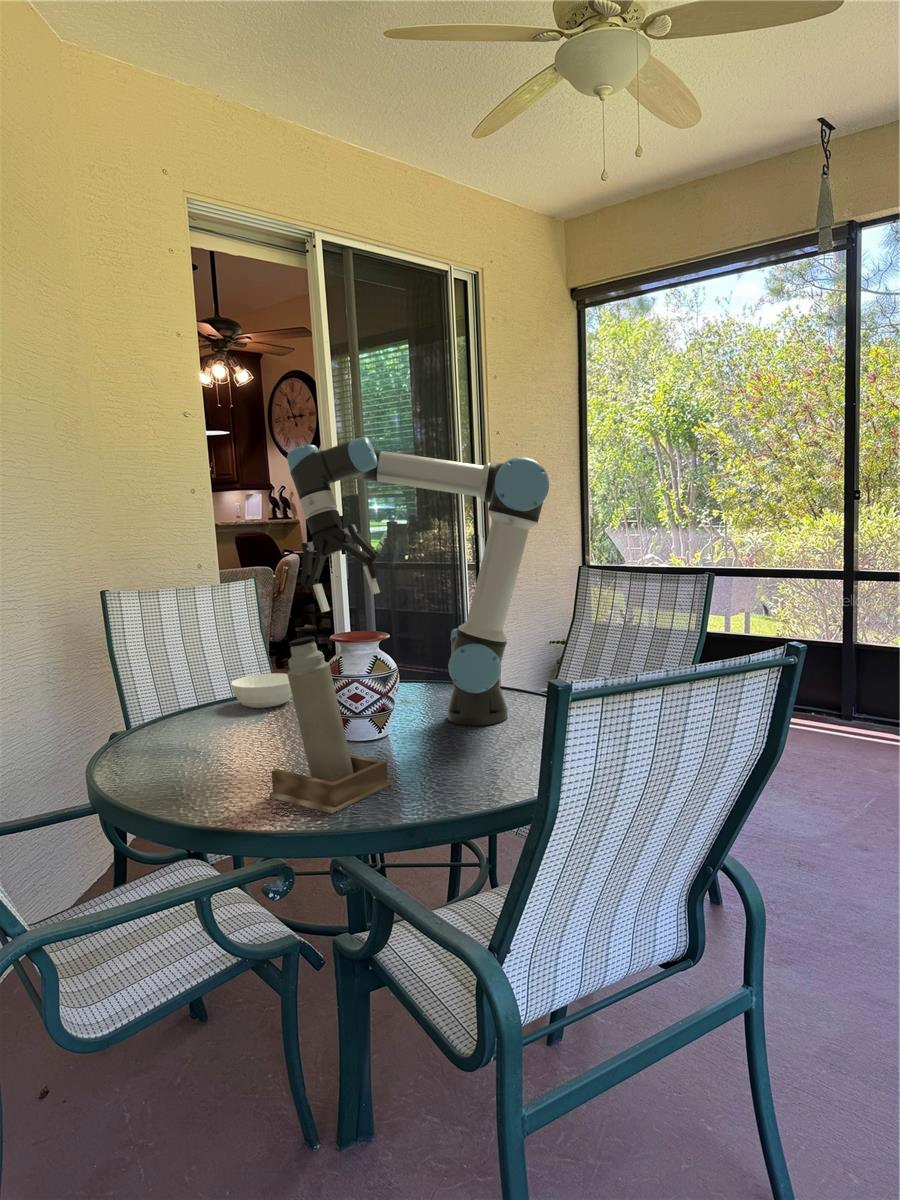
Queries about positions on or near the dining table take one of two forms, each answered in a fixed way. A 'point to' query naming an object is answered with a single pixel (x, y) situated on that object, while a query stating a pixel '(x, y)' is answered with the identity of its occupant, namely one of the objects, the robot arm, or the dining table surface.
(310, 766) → the thermos bottle
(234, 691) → the bowl
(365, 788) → the walnut cradle
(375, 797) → the dining table surface
